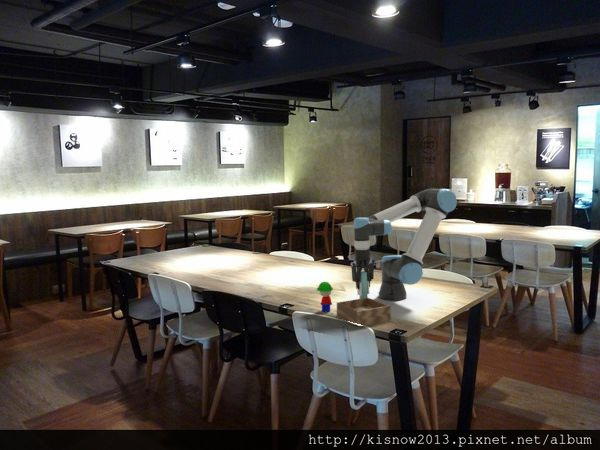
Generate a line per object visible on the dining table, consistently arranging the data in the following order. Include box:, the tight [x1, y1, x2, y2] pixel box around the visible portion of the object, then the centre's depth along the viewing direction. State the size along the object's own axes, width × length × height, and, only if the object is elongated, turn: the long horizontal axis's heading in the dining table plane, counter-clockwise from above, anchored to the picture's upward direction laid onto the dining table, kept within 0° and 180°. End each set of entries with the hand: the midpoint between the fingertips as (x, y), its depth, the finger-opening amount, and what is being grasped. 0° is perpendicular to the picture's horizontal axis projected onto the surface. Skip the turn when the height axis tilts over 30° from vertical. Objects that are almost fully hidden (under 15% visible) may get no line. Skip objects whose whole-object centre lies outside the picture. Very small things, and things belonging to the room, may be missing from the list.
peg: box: [359, 270, 369, 299], centre depth 249 cm, size 4×4×14 cm
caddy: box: [336, 297, 392, 327], centre depth 232 cm, size 18×18×7 cm
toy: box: [316, 281, 334, 313], centre depth 245 cm, size 8×8×15 cm
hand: (363, 294), depth 249 cm, fingers closed on peg, 4 cm apart
